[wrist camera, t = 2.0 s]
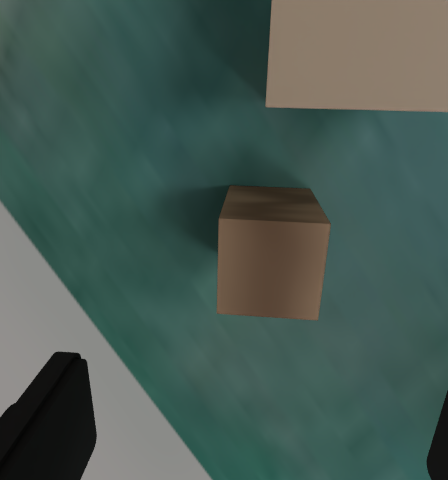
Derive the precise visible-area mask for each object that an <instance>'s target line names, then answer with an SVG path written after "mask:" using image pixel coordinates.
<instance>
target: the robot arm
mask: <svg viewBox="0 0 448 480" xmlns="http://www.w3.org/2000/svg"><path fill="white" fill-rule="evenodd" d="M94 419H95V418H94V411H93V403H92V396H91V388H90V381H89V374H88V366H87V361H86V360H85V359H81V356H80V354H79V353H71V352H55V353H54V354H53V355H52V357H51V358H50V359H49V361H48V362H47V363H46V364H45V366H44V367H43V368H42V369H41V371H40V372H39V373H38V375H37V376H36V377H35V379H34V380H33V381H32V382H31V384H30V385H29V386H28V388H27V389H26V390H25V392H24V393H23V394H22V395H21V397H20V398H19V399H18V401H17V402H16V403H14V404H13V405H11V406H10V407H9V408H8V409H7V410H6V411H5V412H4V413H3V415H2V416H1V417H0V480H80V479H81V477H82V475H83V473H84V470H85V468H86V466H87V464H88V461H89V459H90V457H91V455H92V452H93V450H94V447H95V444H96V437H97V434H96V426H95V420H94ZM427 469H428V473H429V475H430V478H431V480H448V391H447V394H446V398H445V401H444V404H443V408H442V411H441V414H440V417H439V421H438V424H437V427H436V431H435V434H434V437H433V440H432V444H431V447H430V450H429V453H428V457H427Z"/></svg>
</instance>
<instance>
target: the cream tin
mask: <svg viewBox="0 0 448 480" xmlns="http://www.w3.org/2000/svg"><path fill="white" fill-rule="evenodd" d="M265 107H274V108H312V109H351V110H390V111H429V112H448V0H272V4H271V21H270V38H269V55H268V72H267V89H266V106H265Z"/></svg>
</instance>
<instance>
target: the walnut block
mask: <svg viewBox="0 0 448 480" xmlns="http://www.w3.org/2000/svg"><path fill="white" fill-rule="evenodd" d="M330 226H331V223H330V222H329V220H328V218H327V217H326V215H325V213H324V211H323V210H322V208H321V206H320V205H319V203H318V201H317V199H316V198H315V196H314V194H313V193H312V191H311V189H305V188H282V187H258V186H234V185H230V186H229V189H228V192H227V195H226V198H225V201H224V204H223V207H222V210H221V213H220V216H219V232H218V283H217V314H231V315H245V316H260V317H275V318H290V319H304V320H318V316H319V309H320V301H321V294H322V286H323V279H324V271H325V264H326V256H327V249H328V241H329V234H330Z"/></svg>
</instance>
